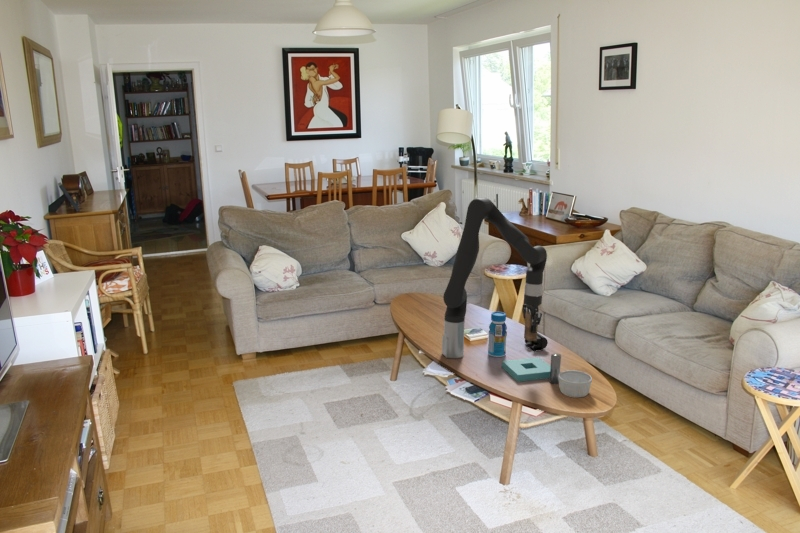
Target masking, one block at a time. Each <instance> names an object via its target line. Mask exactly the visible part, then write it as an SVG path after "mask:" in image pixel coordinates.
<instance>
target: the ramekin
mask: <svg viewBox="0 0 800 533" xmlns="http://www.w3.org/2000/svg"><path fill="white" fill-rule="evenodd" d="M558 379H559V383H558V386H559V390H560V392H561V393H562V395H565V396H567V397H570V398H583V397H586V396H588V395H589V393H590V390H591V385H592V383H593V382H592V381H593V378H592V376H591V375H590V374H589V373H587V372H585V371H581V370H576V369H575V370H572V369H569V370H563V371H560V373H559V375H558Z"/></svg>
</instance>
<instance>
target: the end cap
mask: <svg viewBox="0 0 800 533" xmlns="http://www.w3.org/2000/svg"><path fill="white" fill-rule="evenodd" d="M548 344H549V343H548V339H547V338H546V337H545V336H543V335H542V334H540V333H539V332H537V341H527V340H526V339H525V338H524V346H526V347H527V348H528V347H529V348H528V349H529V350H531V351H532V350H533V351H532V352H537V351H536V350H541V351H543V350H544V349H545V348H547V346H548Z"/></svg>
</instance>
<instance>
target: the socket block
mask: <svg viewBox="0 0 800 533" xmlns="http://www.w3.org/2000/svg"><path fill="white" fill-rule="evenodd" d="M550 366H551V364H549V363H548V362H546V361H545V360H543V359H542V358H541V357H539V356H538V357H528V358H519V359H510V360H502V361H501V368H502V369H503V370H505V372H506V373H508V374H509V376H511V377H512V378H513V380H515V381H516V382H526V381H536V380H545V379H550Z"/></svg>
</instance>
